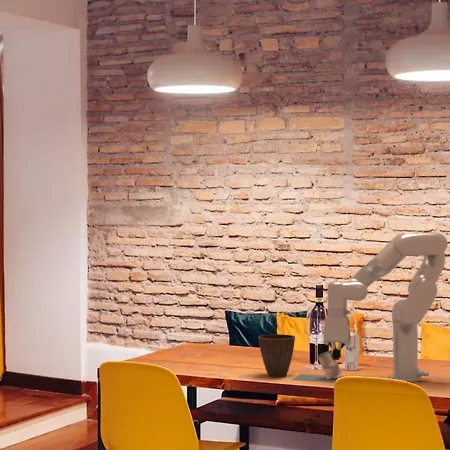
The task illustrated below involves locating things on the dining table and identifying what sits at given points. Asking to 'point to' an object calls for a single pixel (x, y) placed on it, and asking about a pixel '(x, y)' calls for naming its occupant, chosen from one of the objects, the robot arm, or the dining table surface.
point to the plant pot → (277, 353)
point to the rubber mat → (315, 378)
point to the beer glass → (352, 353)
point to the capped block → (329, 364)
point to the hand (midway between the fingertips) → (336, 359)
